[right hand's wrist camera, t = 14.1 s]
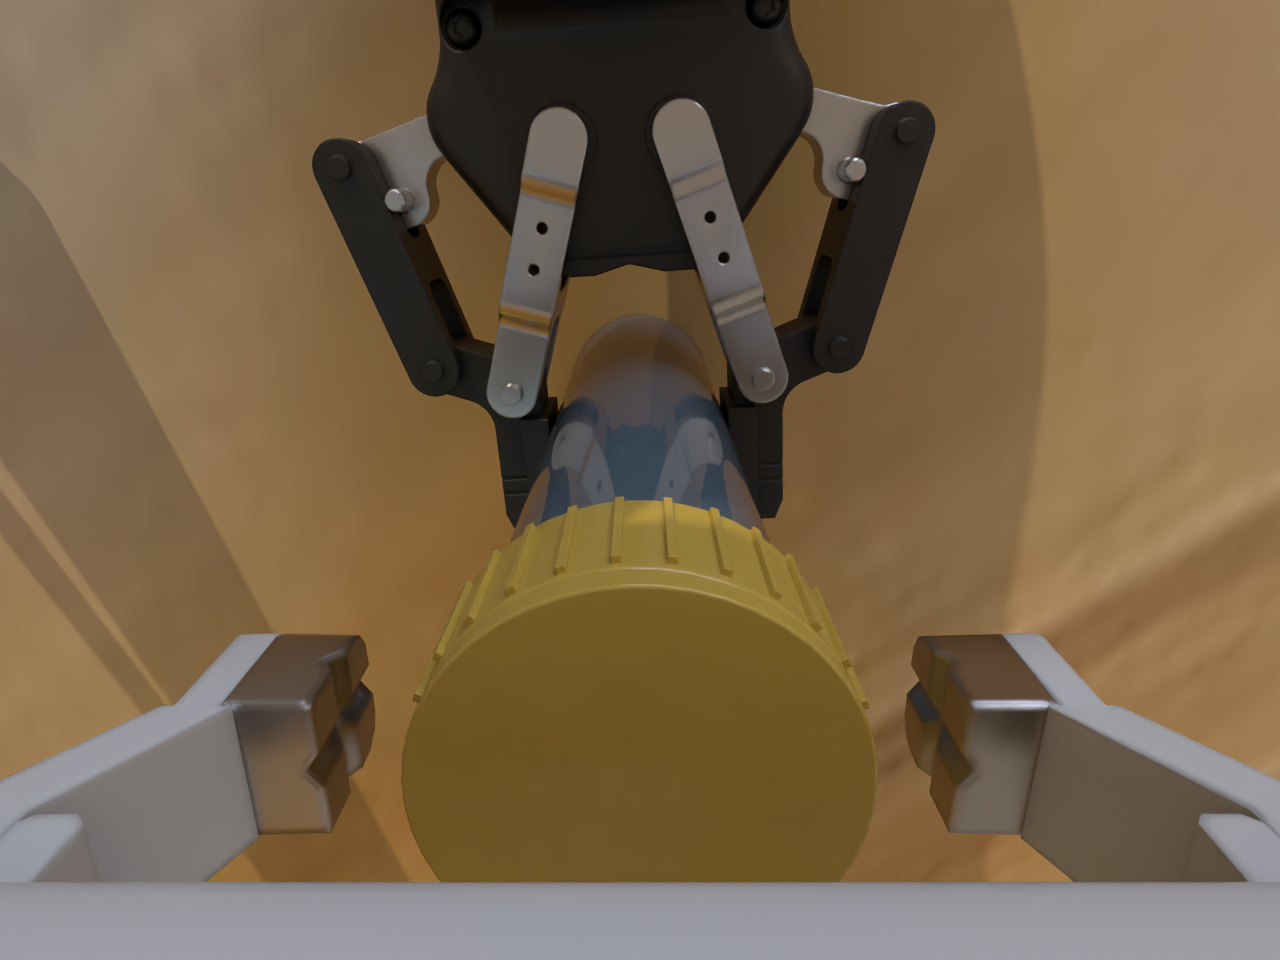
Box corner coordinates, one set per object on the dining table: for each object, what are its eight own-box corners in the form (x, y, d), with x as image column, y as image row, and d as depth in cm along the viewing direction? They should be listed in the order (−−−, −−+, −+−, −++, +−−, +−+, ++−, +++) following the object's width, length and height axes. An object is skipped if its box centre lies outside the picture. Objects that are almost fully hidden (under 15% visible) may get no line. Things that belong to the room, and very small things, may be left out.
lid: (717, 874, 12) (734, 1027, 9) (387, 745, 11) (325, 880, 9) (912, 597, 10) (985, 706, 8) (542, 421, 9) (512, 491, 7)
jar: (553, 409, 27) (386, 829, 9) (609, 291, 25) (540, 518, 8) (668, 464, 27) (719, 952, 10) (729, 351, 26) (912, 684, 8)
